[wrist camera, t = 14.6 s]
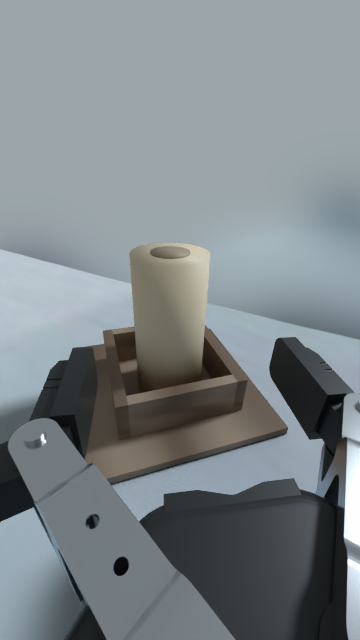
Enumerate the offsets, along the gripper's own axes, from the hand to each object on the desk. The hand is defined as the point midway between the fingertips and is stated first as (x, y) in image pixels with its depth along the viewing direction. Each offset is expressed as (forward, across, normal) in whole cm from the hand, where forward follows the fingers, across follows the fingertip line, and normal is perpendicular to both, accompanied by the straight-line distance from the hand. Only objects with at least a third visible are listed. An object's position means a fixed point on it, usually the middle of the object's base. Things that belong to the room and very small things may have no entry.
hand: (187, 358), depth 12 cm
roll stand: (+8, 0, +9) cm, 12 cm away
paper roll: (+8, 0, +9) cm, 12 cm away
